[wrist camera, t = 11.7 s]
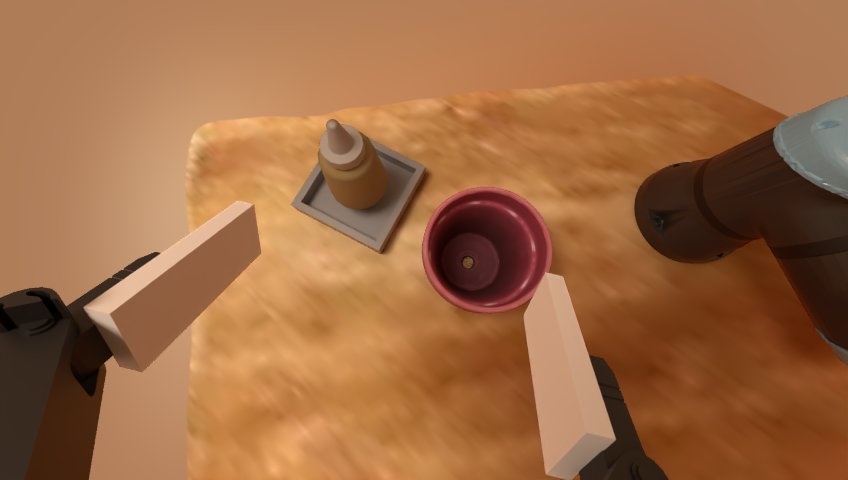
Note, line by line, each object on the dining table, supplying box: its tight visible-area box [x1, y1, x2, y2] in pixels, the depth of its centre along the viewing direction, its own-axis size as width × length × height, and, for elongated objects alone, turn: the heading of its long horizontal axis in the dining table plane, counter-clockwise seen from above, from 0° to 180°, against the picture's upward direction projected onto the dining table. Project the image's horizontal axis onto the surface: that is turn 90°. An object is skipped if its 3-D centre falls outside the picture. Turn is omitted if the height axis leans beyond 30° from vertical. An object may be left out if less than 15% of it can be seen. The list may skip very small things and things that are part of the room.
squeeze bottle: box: [318, 119, 388, 210], centre depth 39 cm, size 8×8×18 cm
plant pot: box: [422, 187, 553, 313], centre depth 41 cm, size 14×14×13 cm
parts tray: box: [291, 139, 425, 254], centre depth 47 cm, size 14×14×3 cm
